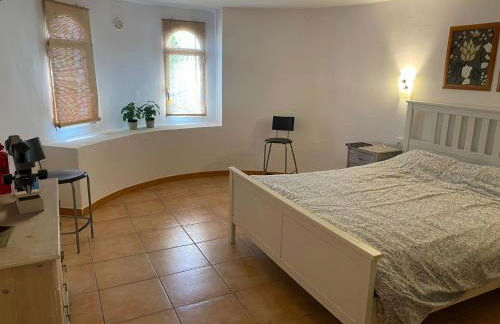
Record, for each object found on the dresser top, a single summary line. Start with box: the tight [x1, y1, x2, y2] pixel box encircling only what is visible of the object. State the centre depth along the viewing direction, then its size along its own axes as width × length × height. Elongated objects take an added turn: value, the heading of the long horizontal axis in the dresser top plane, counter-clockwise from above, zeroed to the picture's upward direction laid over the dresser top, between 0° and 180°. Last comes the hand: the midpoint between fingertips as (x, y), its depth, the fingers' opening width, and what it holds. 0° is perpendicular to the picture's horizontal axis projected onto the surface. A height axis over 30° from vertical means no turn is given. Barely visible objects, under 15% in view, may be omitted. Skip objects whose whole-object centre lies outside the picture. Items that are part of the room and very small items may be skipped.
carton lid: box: [14, 185, 43, 198], centre depth 181 cm, size 14×10×5 cm
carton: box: [14, 194, 45, 216], centre depth 183 cm, size 14×10×6 cm
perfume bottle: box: [32, 177, 40, 190], centre depth 210 cm, size 6×6×12 cm
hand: (29, 192), depth 177 cm, fingers closed on carton lid
